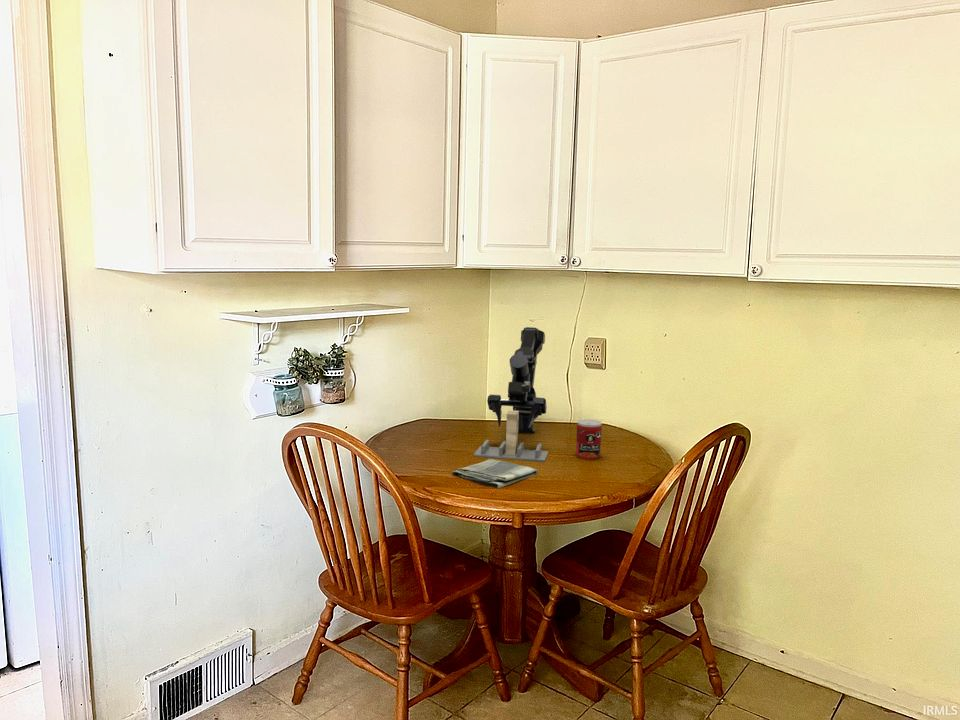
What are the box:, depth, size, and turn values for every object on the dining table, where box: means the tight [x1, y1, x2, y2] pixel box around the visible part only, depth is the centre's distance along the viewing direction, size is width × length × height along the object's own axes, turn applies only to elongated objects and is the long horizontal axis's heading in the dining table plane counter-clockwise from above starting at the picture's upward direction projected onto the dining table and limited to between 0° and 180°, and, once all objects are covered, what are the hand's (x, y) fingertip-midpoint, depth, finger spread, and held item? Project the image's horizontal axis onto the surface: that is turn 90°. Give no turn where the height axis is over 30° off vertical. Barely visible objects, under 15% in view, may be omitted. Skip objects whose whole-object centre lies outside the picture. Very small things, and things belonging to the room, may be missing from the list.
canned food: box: [575, 418, 603, 460], centre depth 227 cm, size 8×8×11 cm
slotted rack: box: [473, 439, 549, 463], centre depth 227 cm, size 10×22×3 cm, turn 79°
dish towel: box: [451, 458, 539, 489], centre depth 207 cm, size 19×18×3 cm
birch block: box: [505, 410, 519, 455], centre depth 226 cm, size 4×3×13 cm, turn 169°
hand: (513, 426), depth 229 cm, fingers open, 9 cm apart
